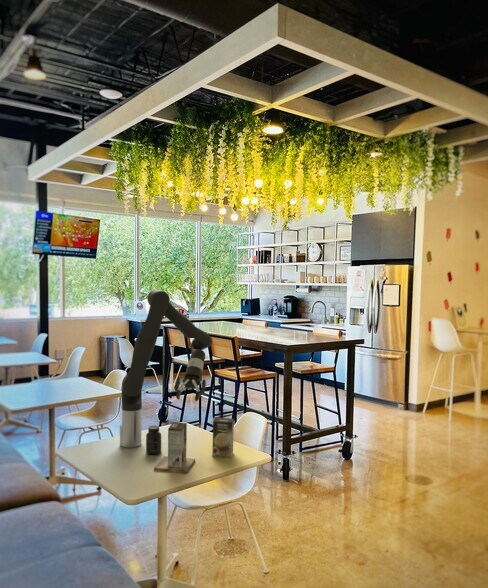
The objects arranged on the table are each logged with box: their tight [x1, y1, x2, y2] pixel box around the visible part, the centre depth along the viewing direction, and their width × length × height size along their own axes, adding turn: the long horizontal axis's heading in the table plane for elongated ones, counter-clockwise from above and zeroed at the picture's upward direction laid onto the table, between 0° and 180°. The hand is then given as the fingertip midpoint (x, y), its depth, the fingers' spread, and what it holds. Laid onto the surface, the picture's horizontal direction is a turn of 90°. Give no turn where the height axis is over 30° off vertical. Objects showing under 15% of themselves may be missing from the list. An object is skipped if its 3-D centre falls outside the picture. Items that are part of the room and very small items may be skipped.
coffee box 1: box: [167, 421, 188, 467], centre depth 203 cm, size 9×6×16 cm
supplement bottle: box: [145, 425, 162, 456], centre depth 217 cm, size 7×7×12 cm
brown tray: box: [153, 455, 196, 474], centre depth 203 cm, size 14×13×1 cm
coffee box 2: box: [211, 416, 235, 459], centre depth 217 cm, size 9×6×16 cm
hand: (186, 399), depth 218 cm, fingers open, 8 cm apart
